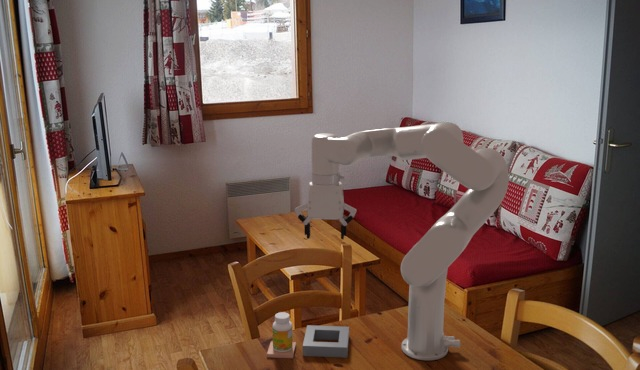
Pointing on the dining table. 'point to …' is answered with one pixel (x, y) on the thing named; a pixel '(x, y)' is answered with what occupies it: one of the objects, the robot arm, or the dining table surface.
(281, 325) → the supplement bottle
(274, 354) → the mat
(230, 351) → the dining table surface
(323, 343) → the frame
